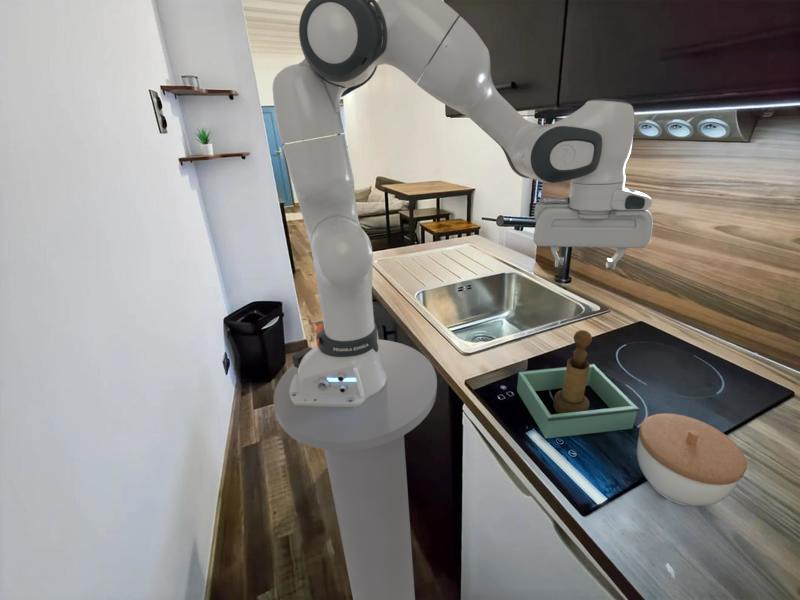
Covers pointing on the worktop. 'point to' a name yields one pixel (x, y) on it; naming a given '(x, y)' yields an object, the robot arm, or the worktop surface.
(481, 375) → the worktop surface
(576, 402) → the mortar and pestle
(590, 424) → the green square frame
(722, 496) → the lidded bowl
